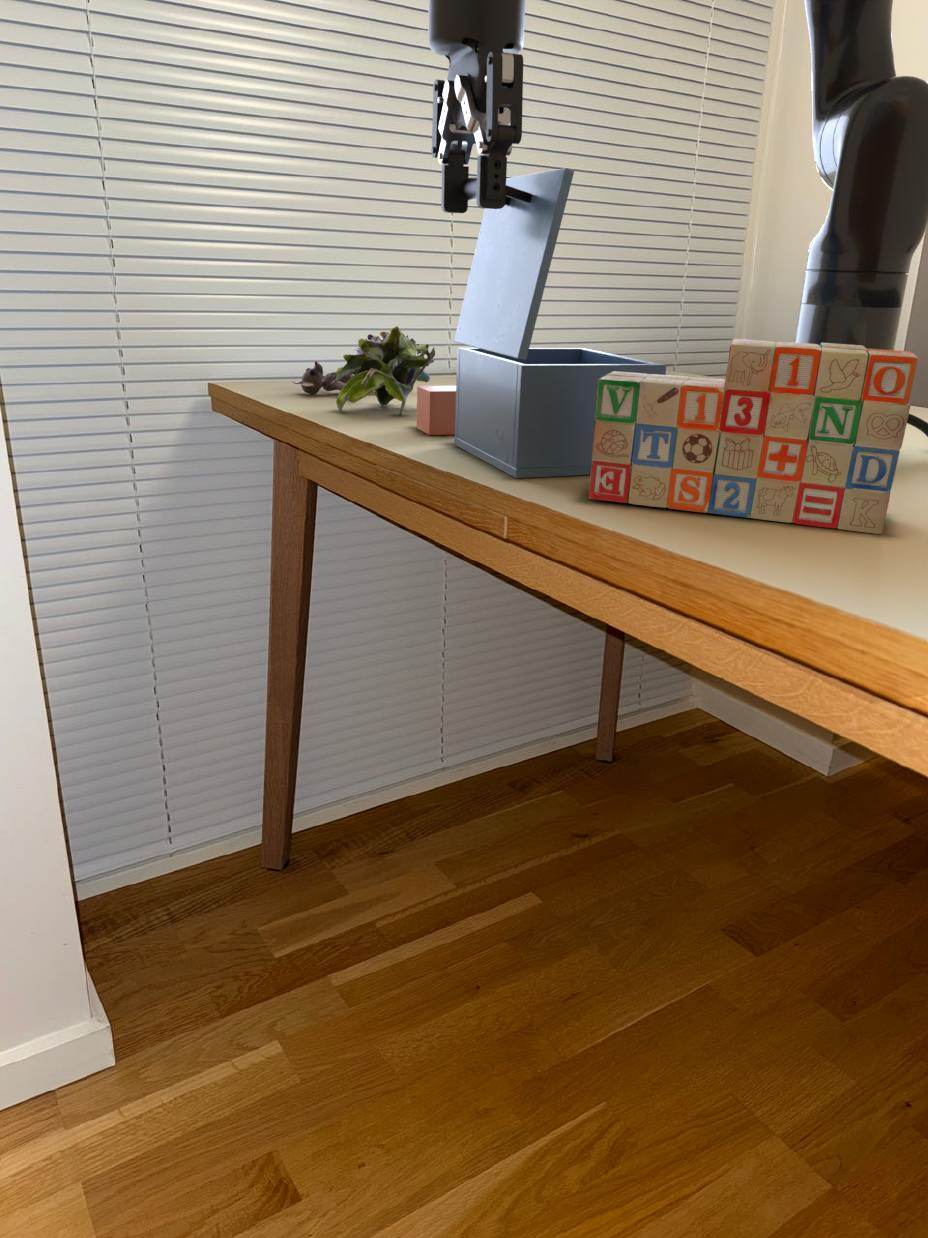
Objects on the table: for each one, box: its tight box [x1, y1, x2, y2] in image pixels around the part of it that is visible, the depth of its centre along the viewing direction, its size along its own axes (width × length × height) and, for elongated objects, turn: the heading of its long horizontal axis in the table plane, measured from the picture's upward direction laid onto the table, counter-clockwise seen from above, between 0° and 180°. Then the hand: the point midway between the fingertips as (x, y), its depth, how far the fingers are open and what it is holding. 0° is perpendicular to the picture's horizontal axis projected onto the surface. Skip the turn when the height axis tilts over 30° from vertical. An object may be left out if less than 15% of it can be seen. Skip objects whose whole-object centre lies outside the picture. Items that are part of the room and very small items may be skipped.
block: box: [416, 385, 456, 436], centre depth 99 cm, size 4×4×4 cm
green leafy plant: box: [335, 325, 436, 417], centre depth 110 cm, size 11×11×12 cm
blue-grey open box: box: [454, 347, 667, 479], centre depth 86 cm, size 14×16×9 cm
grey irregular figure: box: [291, 361, 354, 396], centre depth 125 cm, size 18×4×14 cm
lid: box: [453, 167, 575, 360], centre depth 79 cm, size 14×16×5 cm
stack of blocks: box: [588, 338, 919, 535], centre depth 69 cm, size 21×6×12 cm, turn 71°
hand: (471, 210), depth 77 cm, fingers open, 8 cm apart
